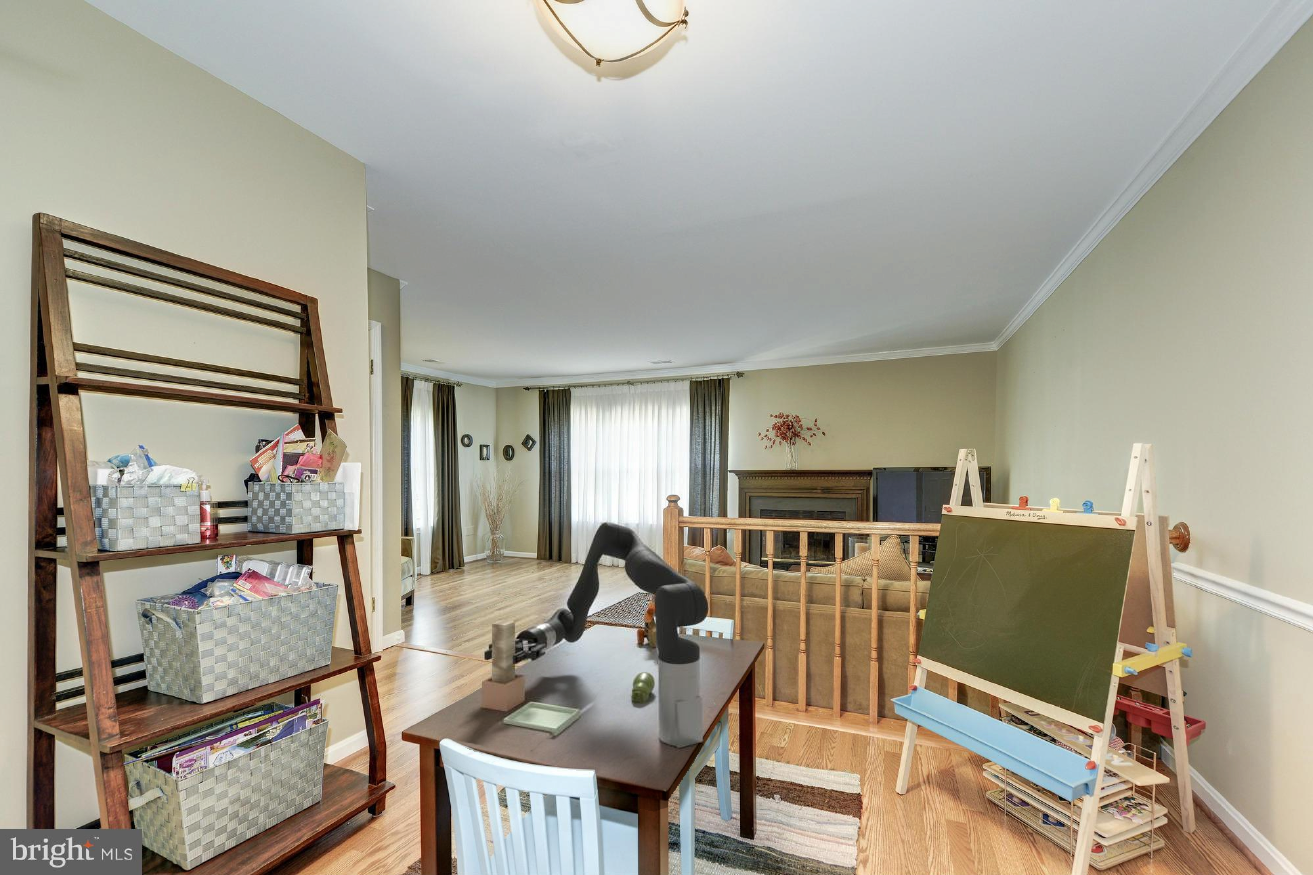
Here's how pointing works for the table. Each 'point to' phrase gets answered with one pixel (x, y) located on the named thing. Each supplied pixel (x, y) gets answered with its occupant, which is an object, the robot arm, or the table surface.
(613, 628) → the table surface
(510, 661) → the post
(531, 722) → the tray
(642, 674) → the pear
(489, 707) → the salmon pink open box
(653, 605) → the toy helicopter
